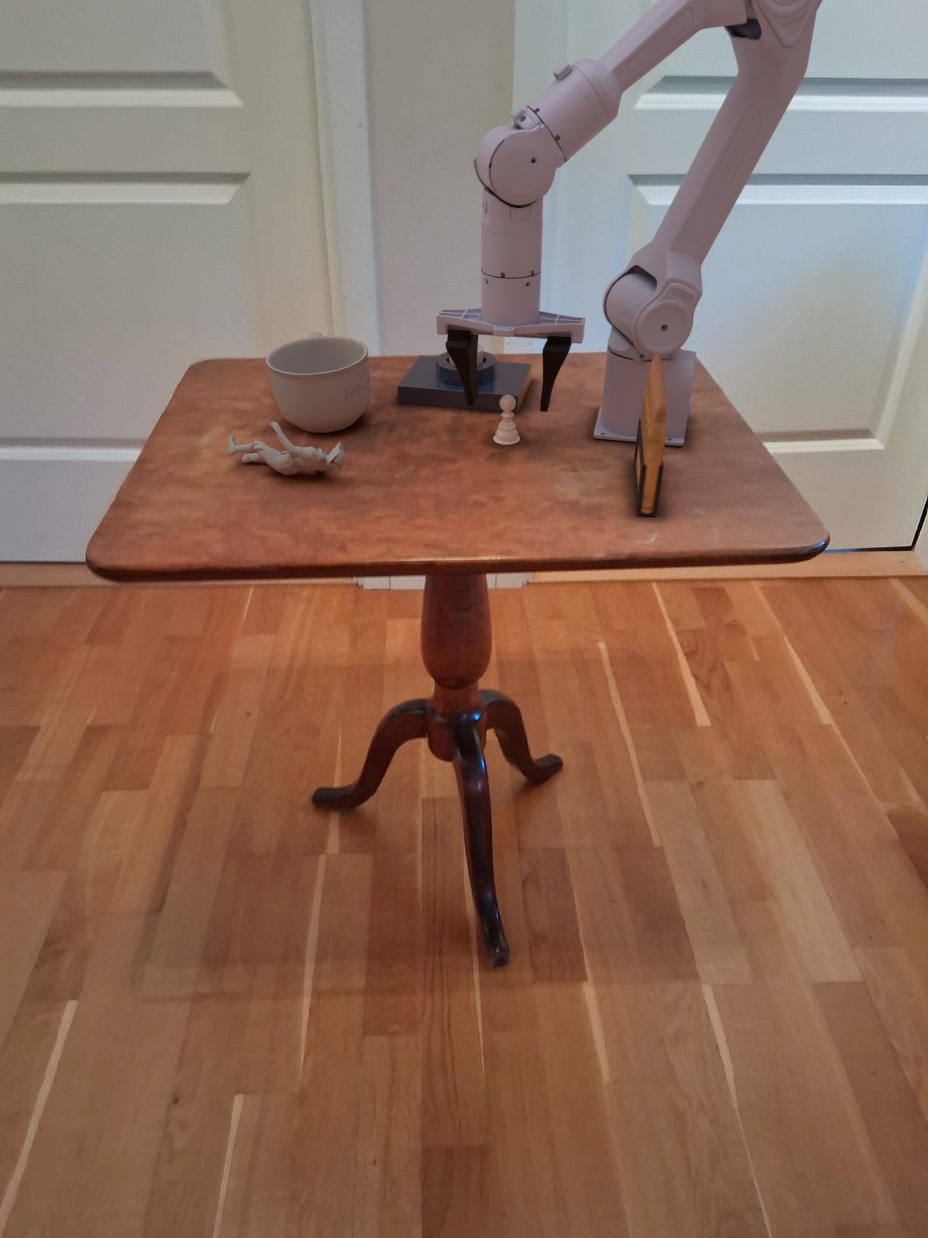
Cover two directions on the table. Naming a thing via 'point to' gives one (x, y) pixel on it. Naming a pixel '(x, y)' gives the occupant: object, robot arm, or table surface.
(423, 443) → the table surface
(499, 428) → the chess pawn
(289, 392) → the teacup
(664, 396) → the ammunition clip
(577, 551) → the table surface
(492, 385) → the dark ring socket base
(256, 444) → the soldier figure
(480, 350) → the pale grey cylinder
